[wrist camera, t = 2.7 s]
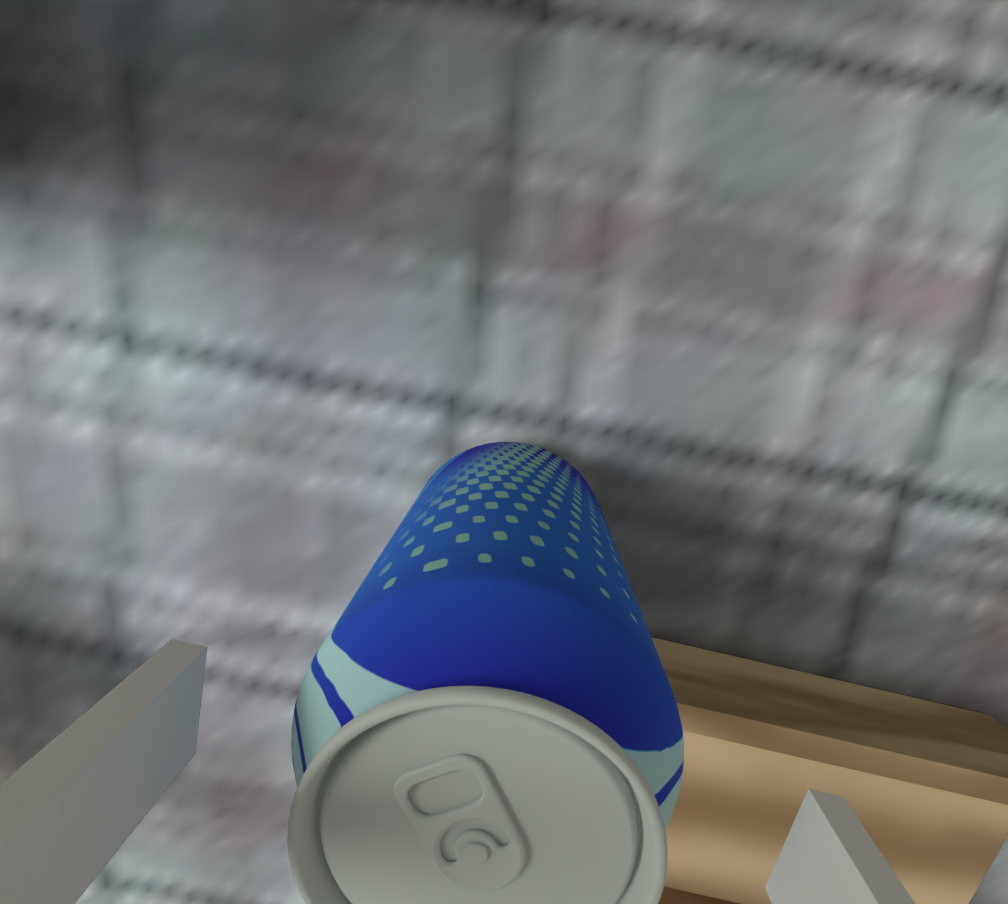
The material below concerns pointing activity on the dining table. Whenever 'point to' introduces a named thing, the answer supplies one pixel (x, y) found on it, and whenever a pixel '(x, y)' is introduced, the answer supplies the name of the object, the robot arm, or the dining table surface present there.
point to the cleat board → (825, 777)
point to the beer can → (488, 708)
